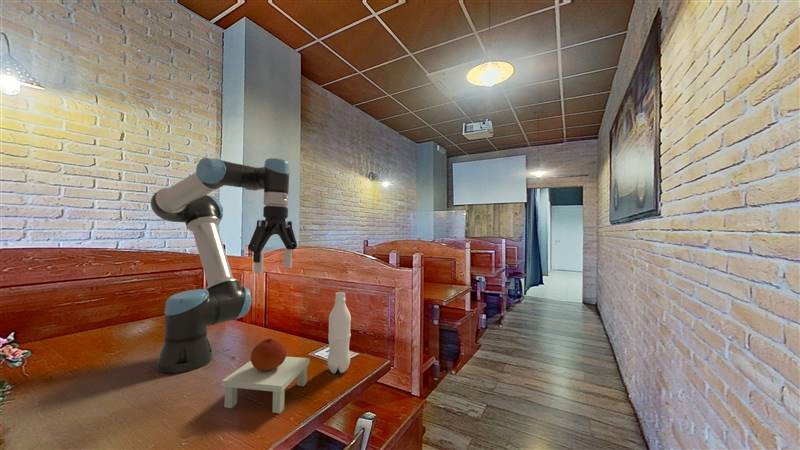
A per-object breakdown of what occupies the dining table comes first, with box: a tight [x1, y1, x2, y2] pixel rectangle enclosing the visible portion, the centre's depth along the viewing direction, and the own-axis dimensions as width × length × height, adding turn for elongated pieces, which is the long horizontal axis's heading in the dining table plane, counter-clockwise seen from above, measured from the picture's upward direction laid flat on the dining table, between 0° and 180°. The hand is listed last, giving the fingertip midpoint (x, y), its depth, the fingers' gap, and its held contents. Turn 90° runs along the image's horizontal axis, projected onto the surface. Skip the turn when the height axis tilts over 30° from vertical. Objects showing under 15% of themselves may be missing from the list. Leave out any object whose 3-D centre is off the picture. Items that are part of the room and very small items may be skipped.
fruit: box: [250, 338, 287, 371], centre depth 82 cm, size 9×9×8 cm
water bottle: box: [327, 291, 352, 374], centre depth 97 cm, size 7×7×25 cm
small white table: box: [221, 356, 311, 414], centre depth 82 cm, size 16×16×7 cm
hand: (274, 270), depth 99 cm, fingers open, 13 cm apart
